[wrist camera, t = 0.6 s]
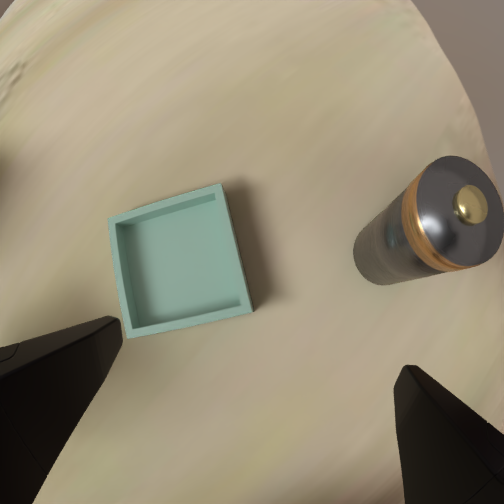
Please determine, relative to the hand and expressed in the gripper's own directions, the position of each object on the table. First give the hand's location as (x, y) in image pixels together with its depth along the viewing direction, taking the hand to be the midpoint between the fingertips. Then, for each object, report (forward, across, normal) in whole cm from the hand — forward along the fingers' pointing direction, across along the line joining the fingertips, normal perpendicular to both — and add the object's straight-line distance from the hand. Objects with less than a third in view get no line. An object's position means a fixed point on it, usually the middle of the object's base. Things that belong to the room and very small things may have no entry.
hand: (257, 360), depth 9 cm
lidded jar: (+15, -8, 0) cm, 17 cm away
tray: (+13, +7, +3) cm, 15 cm away
